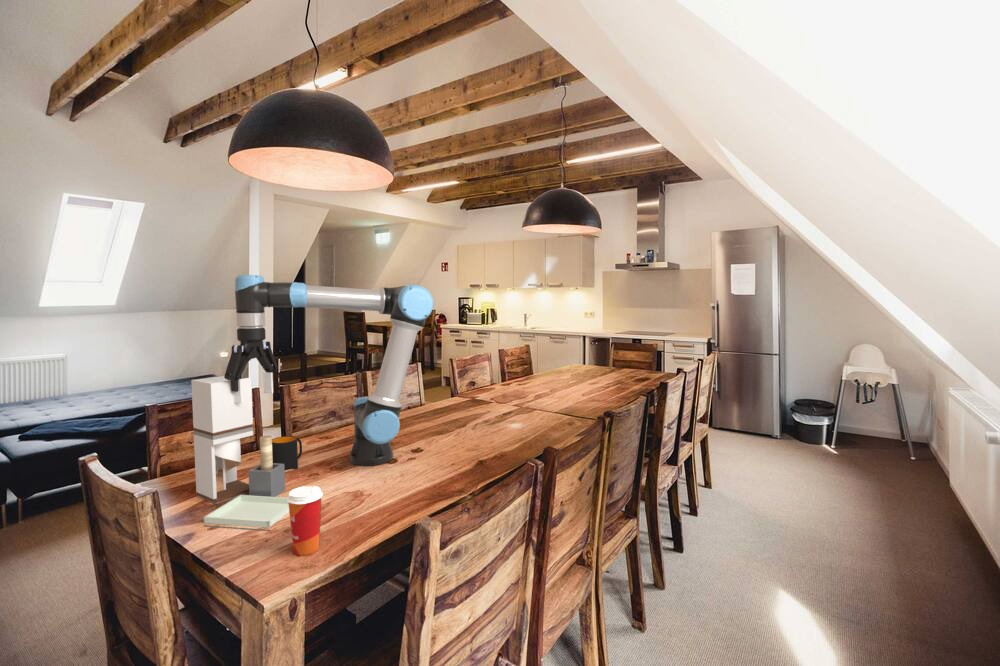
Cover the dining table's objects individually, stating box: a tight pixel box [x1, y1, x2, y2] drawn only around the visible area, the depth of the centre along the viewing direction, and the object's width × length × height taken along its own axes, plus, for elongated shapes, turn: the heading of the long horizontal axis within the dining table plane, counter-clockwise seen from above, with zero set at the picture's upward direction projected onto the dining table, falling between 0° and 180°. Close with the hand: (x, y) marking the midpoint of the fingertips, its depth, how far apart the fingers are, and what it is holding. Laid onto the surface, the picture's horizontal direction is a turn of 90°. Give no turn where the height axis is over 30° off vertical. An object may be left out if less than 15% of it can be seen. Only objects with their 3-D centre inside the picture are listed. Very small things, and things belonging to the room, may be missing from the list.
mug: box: [272, 435, 303, 471], centre depth 164 cm, size 8×12×10 cm
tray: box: [203, 494, 290, 532], centre depth 127 cm, size 18×14×2 cm
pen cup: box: [248, 463, 286, 497], centre depth 139 cm, size 7×7×9 cm
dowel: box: [259, 435, 273, 471], centre depth 139 cm, size 3×3×17 cm
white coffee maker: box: [190, 375, 254, 505], centre depth 139 cm, size 11×11×35 cm
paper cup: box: [286, 485, 324, 557], centre depth 110 cm, size 8×8×14 cm
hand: (253, 397), depth 143 cm, fingers open, 13 cm apart
